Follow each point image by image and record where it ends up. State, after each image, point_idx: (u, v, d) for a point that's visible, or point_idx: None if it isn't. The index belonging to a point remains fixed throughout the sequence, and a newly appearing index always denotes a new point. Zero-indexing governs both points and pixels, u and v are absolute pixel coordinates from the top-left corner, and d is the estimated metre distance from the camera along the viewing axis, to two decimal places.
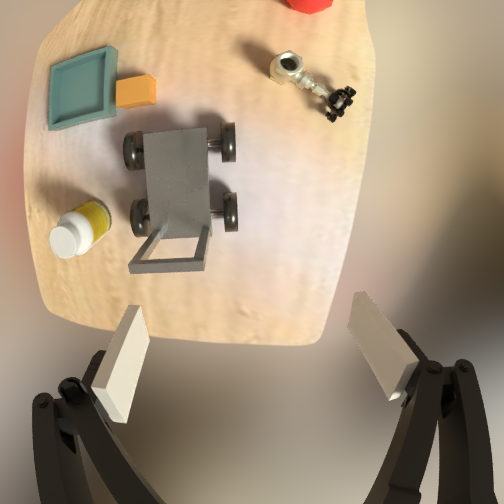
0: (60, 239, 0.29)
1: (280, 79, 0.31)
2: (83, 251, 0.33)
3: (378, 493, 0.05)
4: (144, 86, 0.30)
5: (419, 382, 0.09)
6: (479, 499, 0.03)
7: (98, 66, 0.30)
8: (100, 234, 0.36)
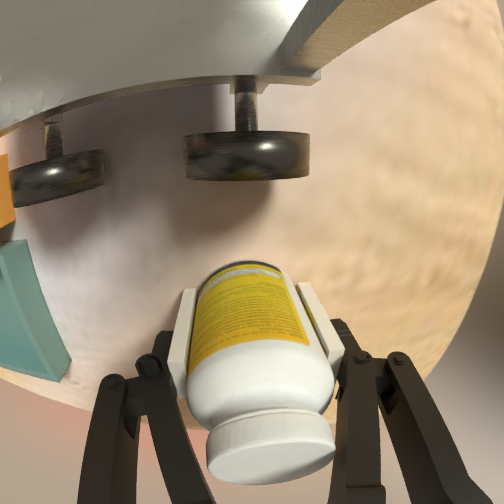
0: (260, 471, 0.07)
1: None
2: (326, 381, 0.09)
3: (338, 494, 0.06)
4: None
5: (348, 375, 0.10)
6: (455, 490, 0.04)
7: None
8: (283, 303, 0.12)
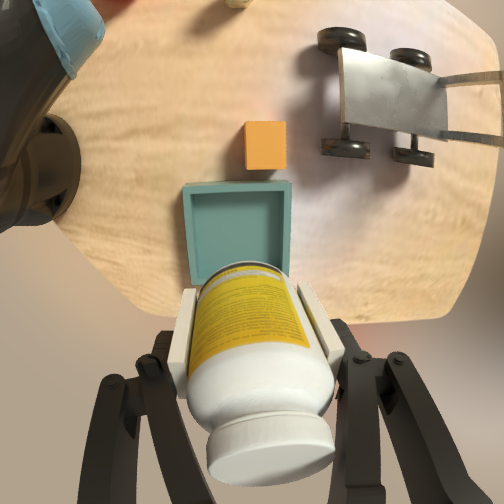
0: (261, 472, 0.07)
1: None
2: (327, 383, 0.09)
3: (338, 494, 0.06)
4: (264, 127, 0.25)
5: (348, 375, 0.10)
6: (455, 489, 0.04)
7: (206, 209, 0.31)
8: (284, 305, 0.12)
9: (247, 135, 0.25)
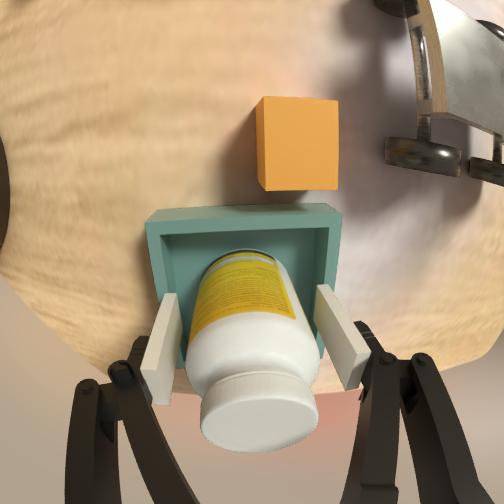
0: (249, 433, 0.09)
1: None
2: (311, 352, 0.11)
3: (352, 492, 0.06)
4: (298, 109, 0.12)
5: (373, 376, 0.10)
6: (464, 492, 0.04)
7: (192, 254, 0.18)
8: (275, 284, 0.14)
9: (266, 123, 0.13)
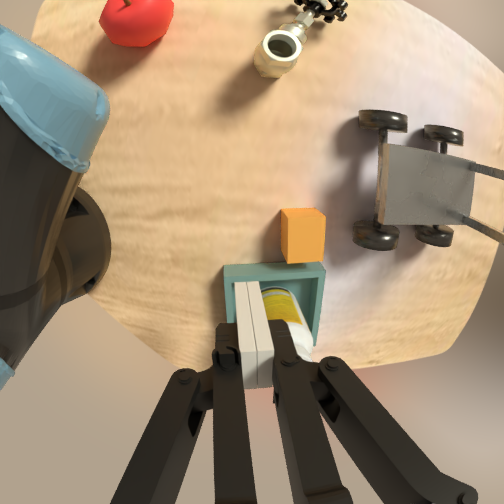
0: None
1: (295, 63, 0.21)
2: (309, 339, 0.26)
3: (301, 502, 0.06)
4: (305, 223, 0.27)
5: (279, 380, 0.10)
6: (429, 488, 0.04)
7: None
8: (292, 308, 0.29)
9: (289, 232, 0.28)
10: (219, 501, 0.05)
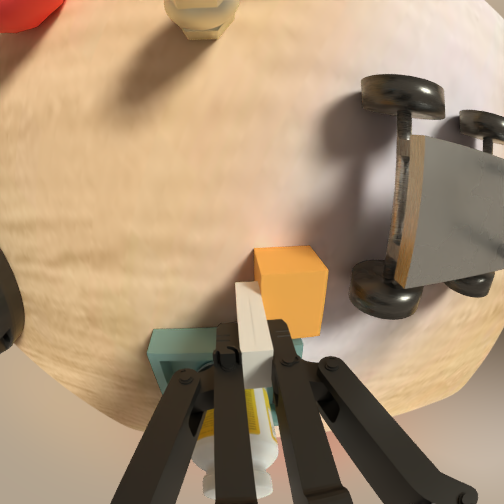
0: None
1: (236, 4, 0.10)
2: (269, 452, 0.15)
3: (301, 502, 0.06)
4: (291, 282, 0.16)
5: (278, 380, 0.10)
6: (429, 488, 0.04)
7: None
8: (247, 402, 0.17)
9: (263, 297, 0.16)
10: (219, 501, 0.05)
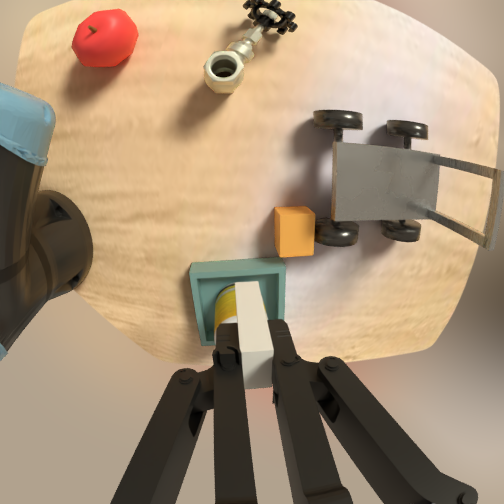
0: None
1: (242, 79, 0.24)
2: None
3: (301, 502, 0.06)
4: (296, 220, 0.30)
5: (279, 380, 0.10)
6: (429, 488, 0.04)
7: (211, 285, 0.36)
8: None
9: (281, 228, 0.30)
10: (219, 501, 0.05)
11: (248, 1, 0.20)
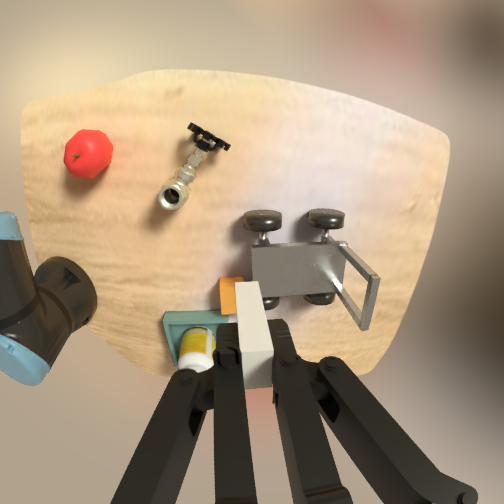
0: None
1: (187, 199, 0.38)
2: (209, 363, 0.42)
3: (301, 502, 0.06)
4: (231, 292, 0.44)
5: (279, 380, 0.10)
6: (429, 488, 0.04)
7: (179, 326, 0.49)
8: (203, 342, 0.45)
9: (220, 296, 0.44)
10: (219, 501, 0.05)
11: (191, 124, 0.34)
